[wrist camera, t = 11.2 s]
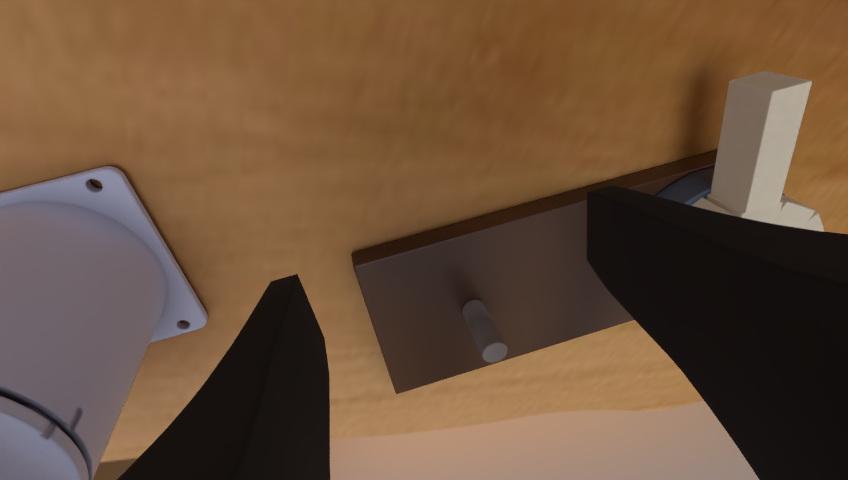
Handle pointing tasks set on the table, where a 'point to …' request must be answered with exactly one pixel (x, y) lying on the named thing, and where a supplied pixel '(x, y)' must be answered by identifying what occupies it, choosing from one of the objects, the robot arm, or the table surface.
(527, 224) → the rack
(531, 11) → the table surface
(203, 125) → the table surface
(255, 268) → the table surface
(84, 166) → the table surface
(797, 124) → the ring
